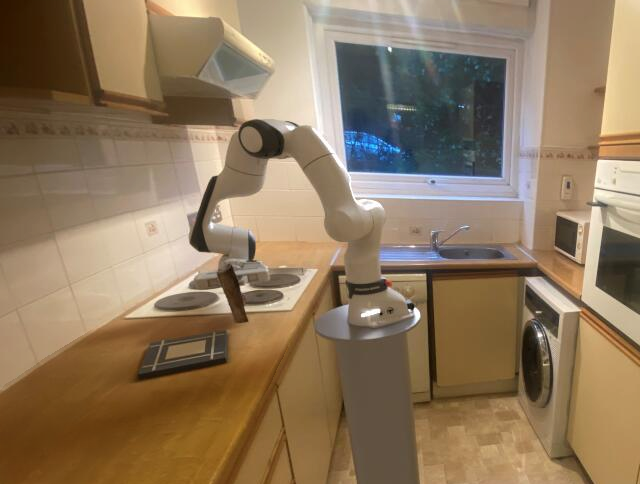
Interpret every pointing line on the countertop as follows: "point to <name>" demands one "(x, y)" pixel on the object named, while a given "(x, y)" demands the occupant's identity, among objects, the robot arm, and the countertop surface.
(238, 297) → the mineral sample
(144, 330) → the countertop surface
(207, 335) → the board
